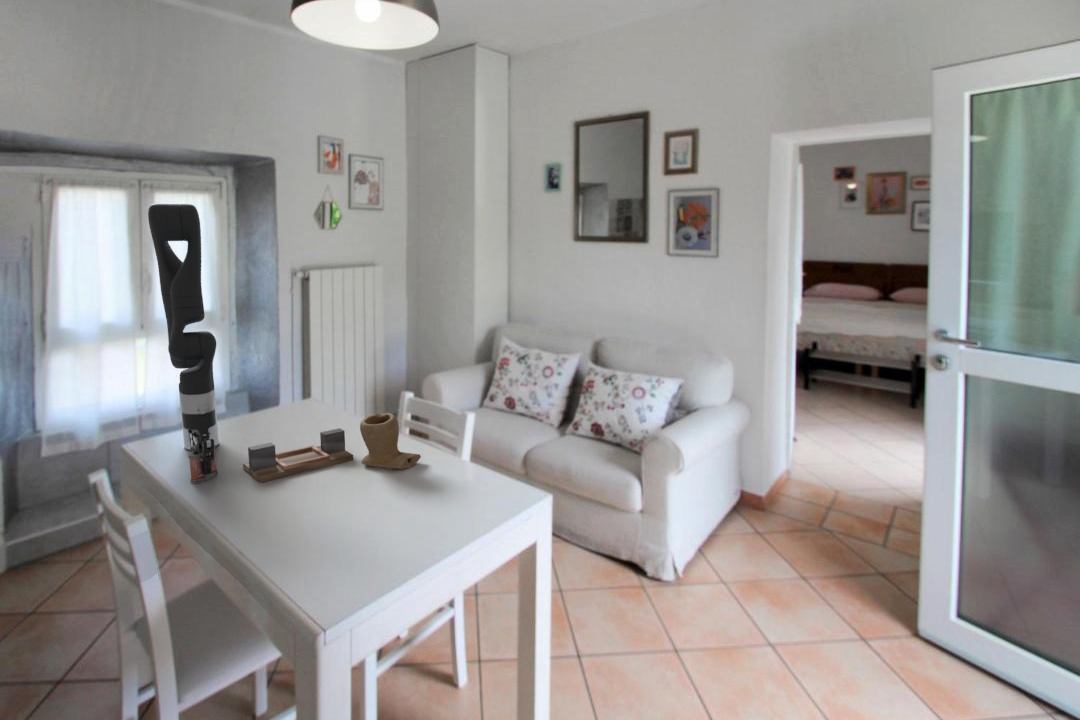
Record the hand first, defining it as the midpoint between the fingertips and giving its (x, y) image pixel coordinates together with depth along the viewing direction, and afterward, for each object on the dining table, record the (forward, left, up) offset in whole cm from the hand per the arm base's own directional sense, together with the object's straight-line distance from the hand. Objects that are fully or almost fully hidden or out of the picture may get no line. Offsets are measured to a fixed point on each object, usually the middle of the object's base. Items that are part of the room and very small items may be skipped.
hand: (203, 470), depth 163 cm
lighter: (0, 0, -2) cm, 2 cm away
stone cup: (+23, +41, -2) cm, 47 cm away
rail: (+6, +23, -2) cm, 24 cm away
